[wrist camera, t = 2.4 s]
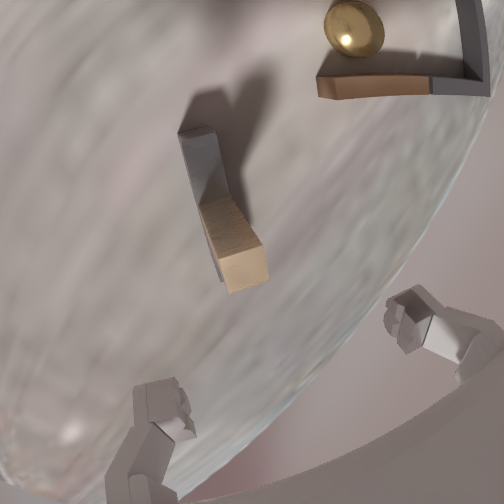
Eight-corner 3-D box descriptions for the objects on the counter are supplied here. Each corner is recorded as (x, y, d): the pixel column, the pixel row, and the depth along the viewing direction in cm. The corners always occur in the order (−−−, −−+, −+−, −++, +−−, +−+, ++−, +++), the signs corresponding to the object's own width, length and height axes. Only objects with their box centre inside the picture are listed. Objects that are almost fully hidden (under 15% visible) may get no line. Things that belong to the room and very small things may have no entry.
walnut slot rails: (282, -80, 11) (297, -94, 9) (381, -63, 12) (400, -69, 10) (318, 96, 19) (337, 100, 17) (408, 90, 20) (429, 94, 18)
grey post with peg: (177, 133, 18) (193, 171, 11) (207, 125, 18) (246, 156, 11) (212, 259, 24) (244, 345, 16) (237, 251, 24) (278, 333, 17)
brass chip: (317, 3, 15) (329, -1, 14) (366, 6, 16) (379, 4, 15) (327, 57, 18) (339, 57, 17) (374, 56, 18) (387, 57, 17)
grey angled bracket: (386, -61, 12) (405, -67, 10) (454, -34, 13) (472, -35, 11) (412, 90, 20) (433, 94, 18) (472, 92, 22) (490, 96, 20)
